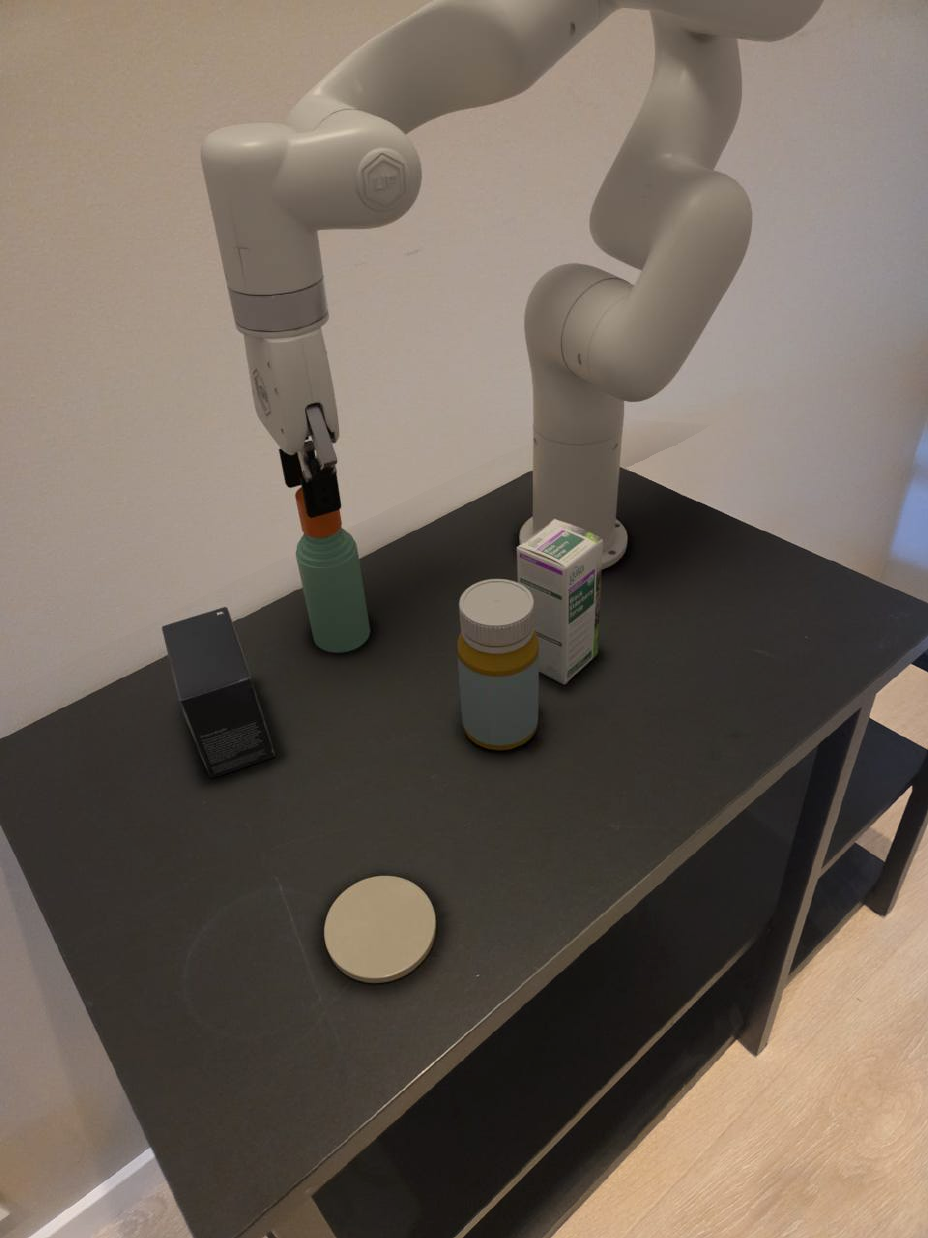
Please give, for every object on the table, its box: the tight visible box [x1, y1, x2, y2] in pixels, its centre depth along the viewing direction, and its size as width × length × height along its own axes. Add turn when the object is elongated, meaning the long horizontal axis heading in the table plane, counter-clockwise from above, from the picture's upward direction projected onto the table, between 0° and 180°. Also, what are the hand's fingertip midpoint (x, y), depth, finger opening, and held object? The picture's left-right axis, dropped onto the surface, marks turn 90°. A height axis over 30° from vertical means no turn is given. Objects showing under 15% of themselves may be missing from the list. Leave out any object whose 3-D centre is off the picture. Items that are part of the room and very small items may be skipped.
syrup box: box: [516, 519, 603, 685], centre depth 83 cm, size 6×6×14 cm
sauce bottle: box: [295, 526, 371, 654], centre depth 87 cm, size 6×6×17 cm
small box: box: [161, 606, 276, 779], centre depth 79 cm, size 11×6×10 cm, turn 23°
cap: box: [294, 486, 343, 538], centre depth 82 cm, size 4×4×4 cm
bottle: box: [456, 578, 540, 751], centre depth 76 cm, size 7×7×15 cm
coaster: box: [323, 875, 437, 984], centre depth 65 cm, size 8×8×1 cm
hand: (313, 495), depth 81 cm, fingers open, 5 cm apart
